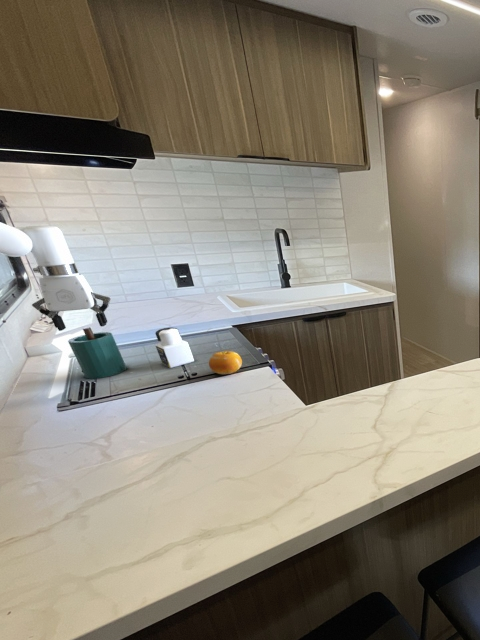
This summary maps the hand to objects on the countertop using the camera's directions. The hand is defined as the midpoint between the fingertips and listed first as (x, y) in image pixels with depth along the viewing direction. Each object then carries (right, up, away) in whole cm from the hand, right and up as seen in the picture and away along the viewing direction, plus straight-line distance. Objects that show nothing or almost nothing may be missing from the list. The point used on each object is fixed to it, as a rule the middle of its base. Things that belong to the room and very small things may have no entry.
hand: (83, 327), depth 124 cm
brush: (0, -13, +6) cm, 14 cm away
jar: (0, -14, +7) cm, 15 cm away
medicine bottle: (+19, -11, +13) cm, 25 cm away
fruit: (+41, -14, +5) cm, 44 cm away
